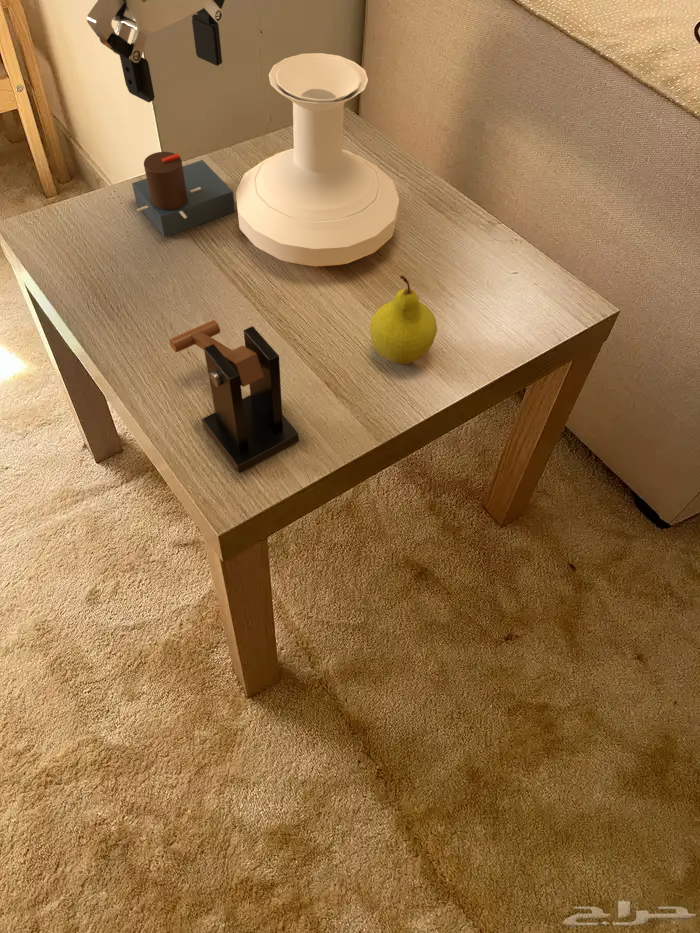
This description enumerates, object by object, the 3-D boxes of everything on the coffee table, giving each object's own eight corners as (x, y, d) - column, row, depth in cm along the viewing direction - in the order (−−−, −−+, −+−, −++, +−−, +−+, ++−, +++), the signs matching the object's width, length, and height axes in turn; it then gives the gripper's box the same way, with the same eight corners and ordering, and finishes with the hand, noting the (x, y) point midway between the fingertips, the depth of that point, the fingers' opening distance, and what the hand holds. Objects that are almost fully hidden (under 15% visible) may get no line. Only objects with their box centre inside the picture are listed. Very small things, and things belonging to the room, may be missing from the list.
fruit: (402, 323, 81) (414, 235, 71) (443, 357, 78) (463, 271, 68) (356, 350, 78) (363, 263, 68) (398, 386, 75) (411, 301, 65)
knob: (161, 214, 85) (153, 174, 81) (145, 195, 87) (136, 155, 83) (194, 203, 87) (187, 163, 82) (177, 184, 89) (170, 145, 84)
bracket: (203, 426, 71) (186, 343, 61) (262, 396, 74) (254, 312, 64) (238, 473, 68) (226, 394, 58) (299, 441, 71) (297, 360, 61)
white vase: (421, 265, 87) (446, 112, 71) (266, 300, 82) (255, 145, 66) (360, 174, 97) (370, 22, 81) (219, 200, 92) (200, 45, 76)
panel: (158, 250, 86) (153, 228, 83) (123, 208, 90) (117, 186, 88) (242, 219, 90) (240, 197, 87) (205, 180, 94) (202, 158, 92)
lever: (174, 354, 71) (166, 333, 70) (217, 335, 73) (210, 314, 71) (229, 394, 61) (220, 370, 60) (277, 370, 63) (270, 346, 62)
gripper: (185, -165, 64) (208, 36, 78) (29, -118, 55) (86, 98, 70) (247, -145, 61) (259, 59, 75) (94, -92, 53) (139, 126, 67)
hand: (176, 78), depth 72 cm, fingers open, 9 cm apart
